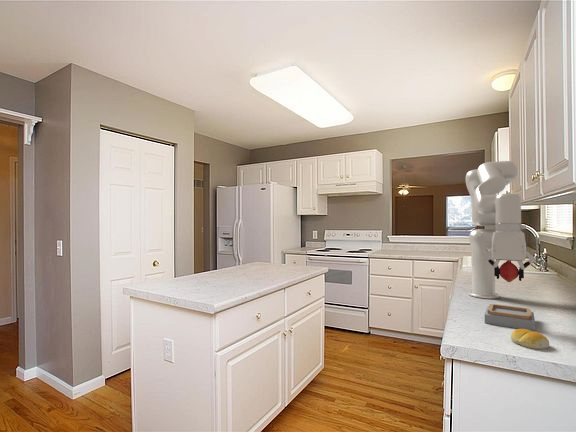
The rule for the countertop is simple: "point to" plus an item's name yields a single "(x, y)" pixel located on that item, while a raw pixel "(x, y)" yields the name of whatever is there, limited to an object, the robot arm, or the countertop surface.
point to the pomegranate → (508, 271)
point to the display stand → (510, 316)
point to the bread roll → (529, 339)
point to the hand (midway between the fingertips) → (508, 278)
